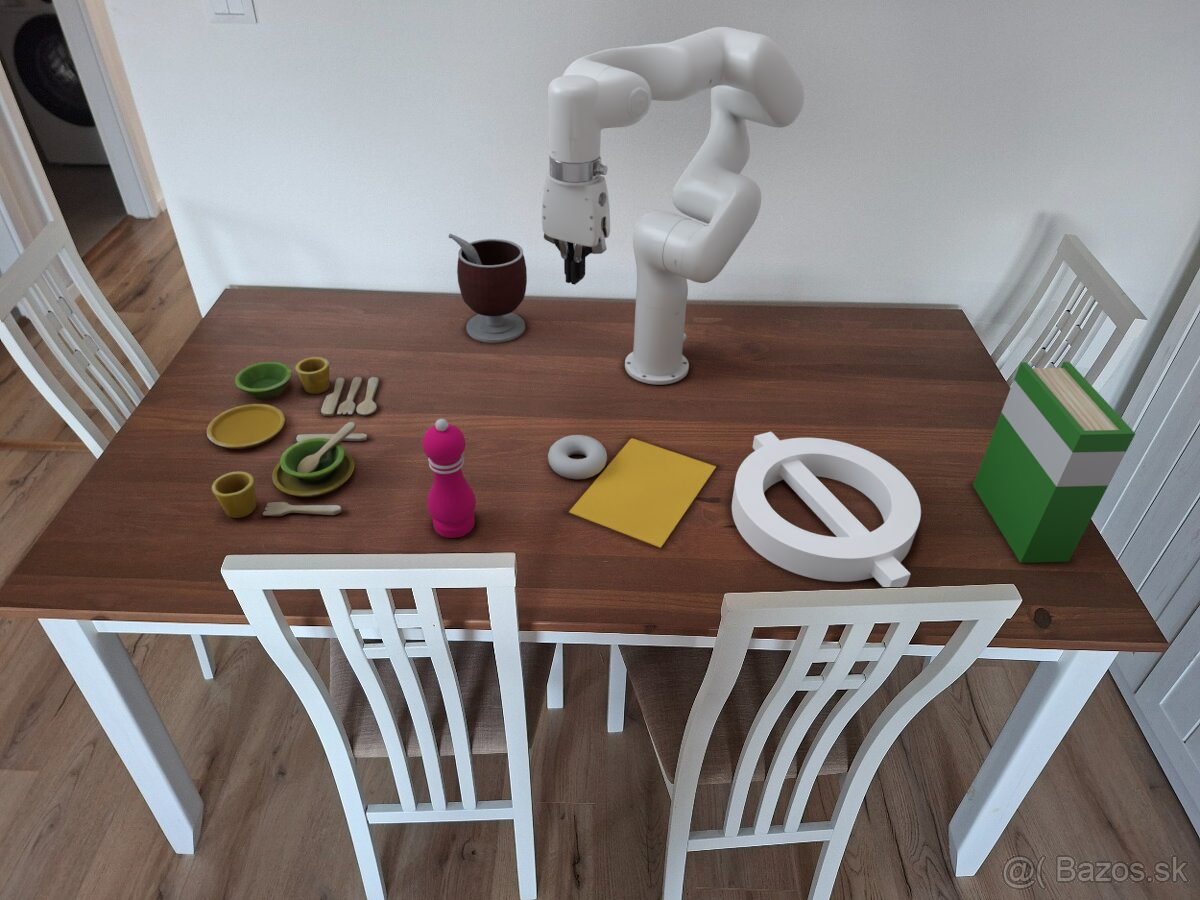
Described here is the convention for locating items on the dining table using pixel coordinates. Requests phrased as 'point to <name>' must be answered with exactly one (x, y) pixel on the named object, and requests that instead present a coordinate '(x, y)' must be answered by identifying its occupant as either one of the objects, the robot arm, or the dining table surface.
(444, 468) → the pepper mill
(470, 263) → the mate gourd
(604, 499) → the cloth
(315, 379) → the tableware set
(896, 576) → the ring with crossbar
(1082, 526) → the hardback book
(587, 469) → the donut
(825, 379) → the dining table surface
